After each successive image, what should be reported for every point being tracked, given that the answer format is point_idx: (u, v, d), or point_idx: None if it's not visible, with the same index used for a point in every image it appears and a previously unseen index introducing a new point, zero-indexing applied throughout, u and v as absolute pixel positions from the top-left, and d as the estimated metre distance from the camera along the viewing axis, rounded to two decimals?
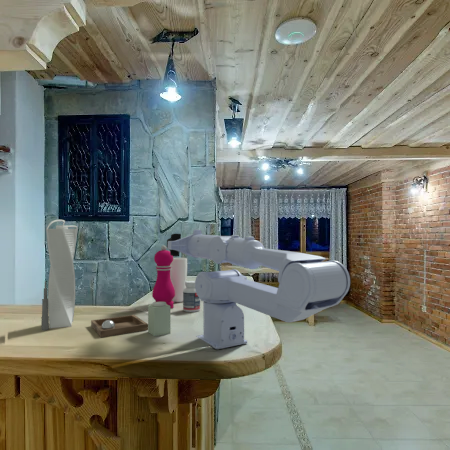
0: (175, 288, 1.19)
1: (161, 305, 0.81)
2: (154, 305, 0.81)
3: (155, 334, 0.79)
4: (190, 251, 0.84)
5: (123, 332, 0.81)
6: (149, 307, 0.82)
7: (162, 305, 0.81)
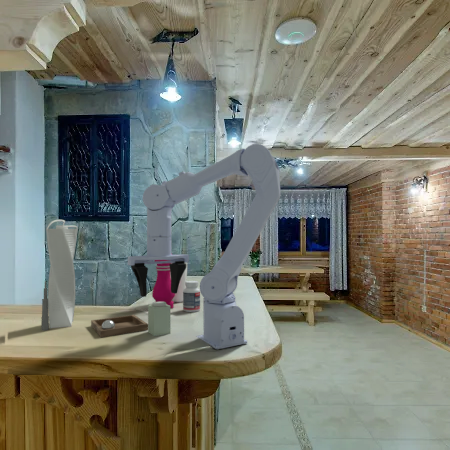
0: None
1: (161, 305, 0.81)
2: (154, 305, 0.81)
3: (155, 334, 0.79)
4: (151, 251, 0.80)
5: (123, 332, 0.81)
6: (149, 307, 0.82)
7: (162, 305, 0.81)
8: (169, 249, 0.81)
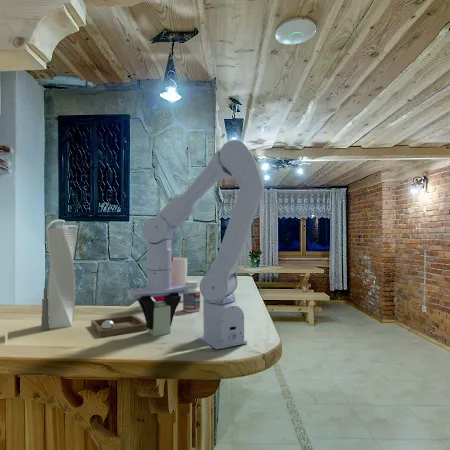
0: None
1: (161, 305, 0.81)
2: (154, 305, 0.81)
3: (155, 334, 0.79)
4: (151, 285, 0.80)
5: (123, 332, 0.81)
6: None
7: (162, 305, 0.81)
8: (169, 282, 0.81)
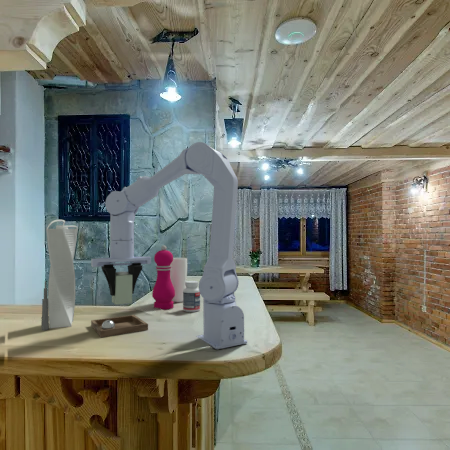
0: (175, 288, 1.19)
1: (123, 274, 0.86)
2: (117, 274, 0.86)
3: (117, 300, 0.85)
4: (113, 254, 0.85)
5: (123, 332, 0.81)
6: None
7: (124, 274, 0.86)
8: (131, 252, 0.86)
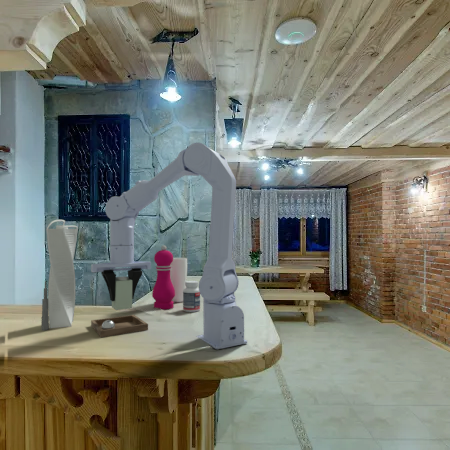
0: (175, 288, 1.19)
1: (123, 279, 0.86)
2: (117, 279, 0.86)
3: (117, 306, 0.85)
4: (113, 259, 0.85)
5: (123, 332, 0.81)
6: None
7: (124, 279, 0.86)
8: (131, 257, 0.86)
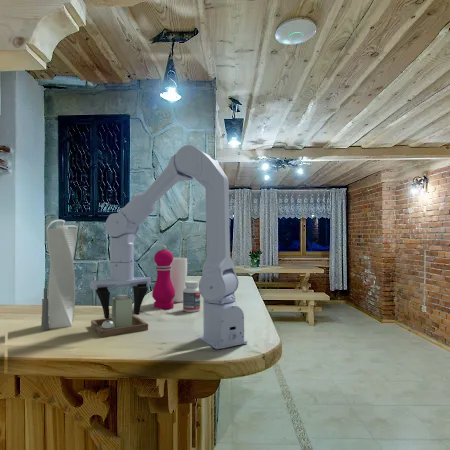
0: (175, 288, 1.19)
1: (123, 298, 0.86)
2: (117, 298, 0.86)
3: (117, 325, 0.85)
4: (113, 276, 0.85)
5: (123, 332, 0.81)
6: (112, 300, 0.87)
7: (124, 298, 0.86)
8: (131, 273, 0.86)
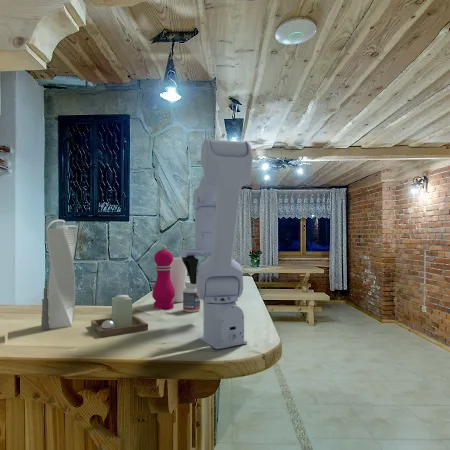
0: (175, 288, 1.19)
1: (123, 298, 0.86)
2: (117, 298, 0.86)
3: (117, 325, 0.85)
4: (200, 245, 0.93)
5: (123, 332, 0.81)
6: (112, 300, 0.87)
7: (124, 298, 0.86)
8: None
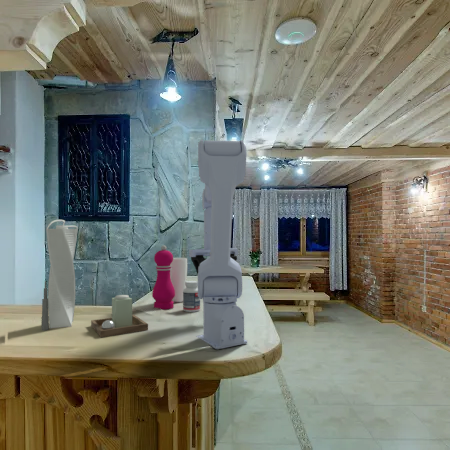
0: (175, 288, 1.19)
1: (123, 298, 0.86)
2: (117, 298, 0.86)
3: (117, 325, 0.85)
4: (208, 245, 0.94)
5: (123, 332, 0.81)
6: (112, 300, 0.87)
7: (124, 298, 0.86)
8: None
